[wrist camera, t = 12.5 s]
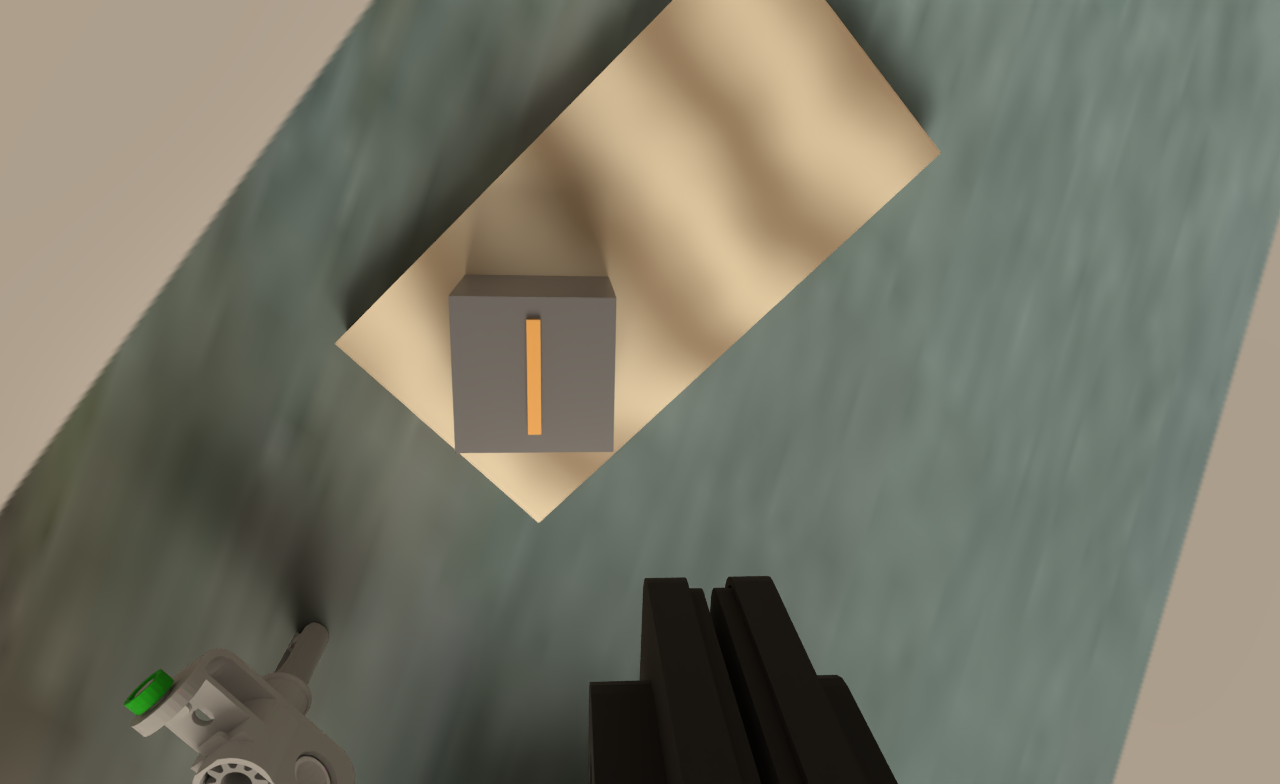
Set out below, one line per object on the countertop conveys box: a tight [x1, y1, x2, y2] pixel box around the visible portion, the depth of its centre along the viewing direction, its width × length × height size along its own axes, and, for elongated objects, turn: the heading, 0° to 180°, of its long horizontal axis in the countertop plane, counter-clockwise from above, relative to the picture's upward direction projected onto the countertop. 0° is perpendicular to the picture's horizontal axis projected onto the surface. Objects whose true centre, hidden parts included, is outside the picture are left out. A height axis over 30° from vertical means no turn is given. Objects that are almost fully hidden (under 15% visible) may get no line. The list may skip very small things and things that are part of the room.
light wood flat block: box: [335, 0, 941, 523], centre depth 32 cm, size 24×12×6 cm, turn 133°
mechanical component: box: [124, 622, 355, 784], centre depth 35 cm, size 3×10×10 cm, turn 36°
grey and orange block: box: [448, 275, 616, 453], centre depth 31 cm, size 6×6×5 cm
